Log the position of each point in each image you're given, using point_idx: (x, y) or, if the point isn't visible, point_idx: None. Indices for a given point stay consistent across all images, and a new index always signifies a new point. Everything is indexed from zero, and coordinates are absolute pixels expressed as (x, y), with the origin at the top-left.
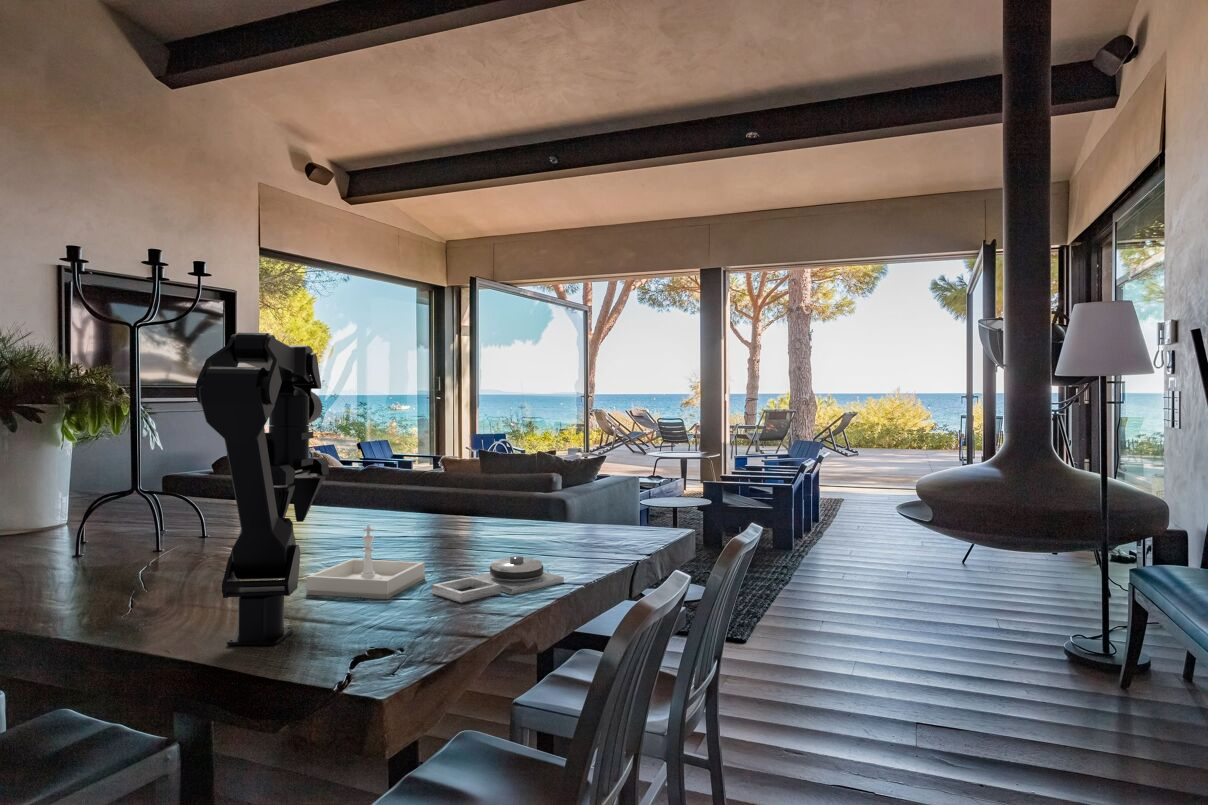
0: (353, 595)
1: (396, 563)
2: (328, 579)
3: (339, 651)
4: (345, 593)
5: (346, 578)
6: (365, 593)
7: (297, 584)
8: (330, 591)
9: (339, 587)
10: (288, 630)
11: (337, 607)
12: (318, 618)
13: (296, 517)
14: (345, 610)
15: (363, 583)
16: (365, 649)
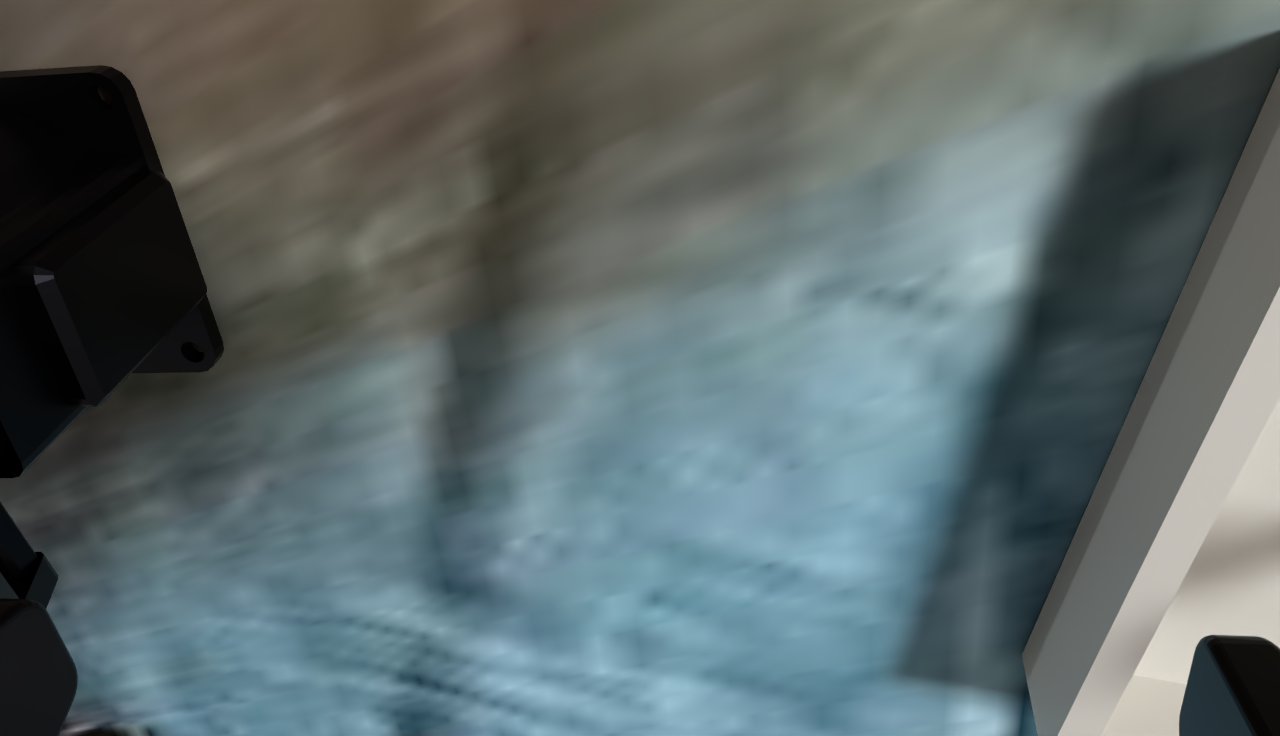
0: (1117, 459)
1: None
2: (1249, 328)
3: None
4: (1142, 409)
5: (1189, 494)
6: (1085, 554)
7: (46, 590)
8: (1201, 289)
9: (1178, 389)
10: (151, 363)
11: (811, 424)
12: (526, 393)
13: (1225, 706)
14: (734, 491)
15: (1105, 598)
16: (114, 718)
